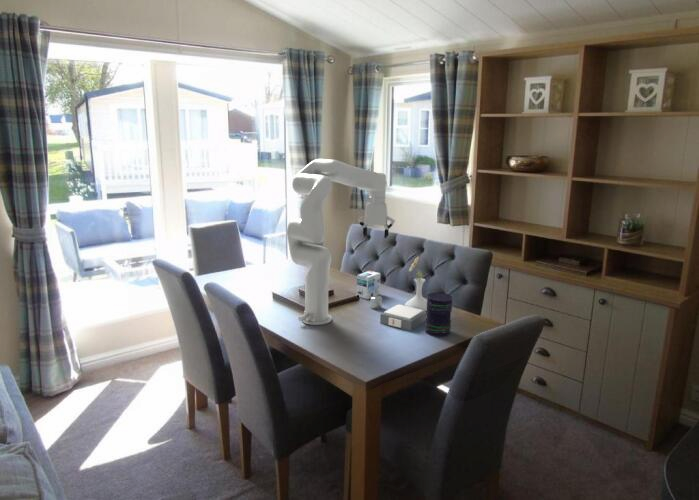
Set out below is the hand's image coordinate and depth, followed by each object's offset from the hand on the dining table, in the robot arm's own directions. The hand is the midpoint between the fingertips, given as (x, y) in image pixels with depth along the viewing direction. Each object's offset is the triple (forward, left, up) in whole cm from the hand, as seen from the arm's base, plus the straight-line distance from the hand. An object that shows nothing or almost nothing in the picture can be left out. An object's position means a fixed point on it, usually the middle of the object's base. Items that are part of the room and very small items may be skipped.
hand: (375, 236), depth 245 cm
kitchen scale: (-22, -28, -29) cm, 46 cm away
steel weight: (-14, -10, -29) cm, 34 cm away
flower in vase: (-5, -26, -29) cm, 39 cm away
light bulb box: (-1, +2, -29) cm, 29 cm away
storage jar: (-24, -44, -29) cm, 58 cm away
